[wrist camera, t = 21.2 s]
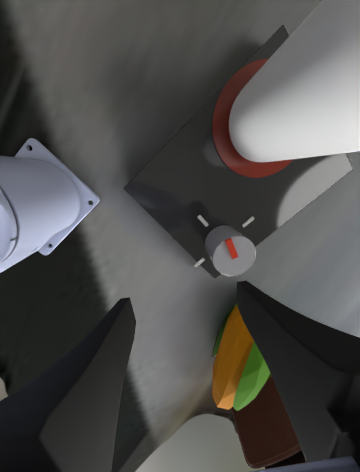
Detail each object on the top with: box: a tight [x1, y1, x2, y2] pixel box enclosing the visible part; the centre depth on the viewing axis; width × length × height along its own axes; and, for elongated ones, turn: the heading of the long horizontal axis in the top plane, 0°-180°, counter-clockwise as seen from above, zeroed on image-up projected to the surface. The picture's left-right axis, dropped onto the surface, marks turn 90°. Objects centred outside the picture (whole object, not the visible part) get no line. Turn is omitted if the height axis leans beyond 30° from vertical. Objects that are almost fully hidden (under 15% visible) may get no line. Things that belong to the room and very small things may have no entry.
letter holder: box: [230, 377, 307, 469], centre depth 25 cm, size 10×20×14 cm, turn 141°
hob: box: [124, 25, 353, 279], centre depth 18 cm, size 19×15×3 cm
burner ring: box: [212, 59, 294, 178], centre depth 16 cm, size 9×9×1 cm
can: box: [229, 0, 360, 162], centre depth 10 cm, size 6×6×12 cm
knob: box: [205, 225, 256, 276], centre depth 17 cm, size 4×4×4 cm
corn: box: [212, 303, 272, 411], centre depth 24 cm, size 7×8×20 cm
